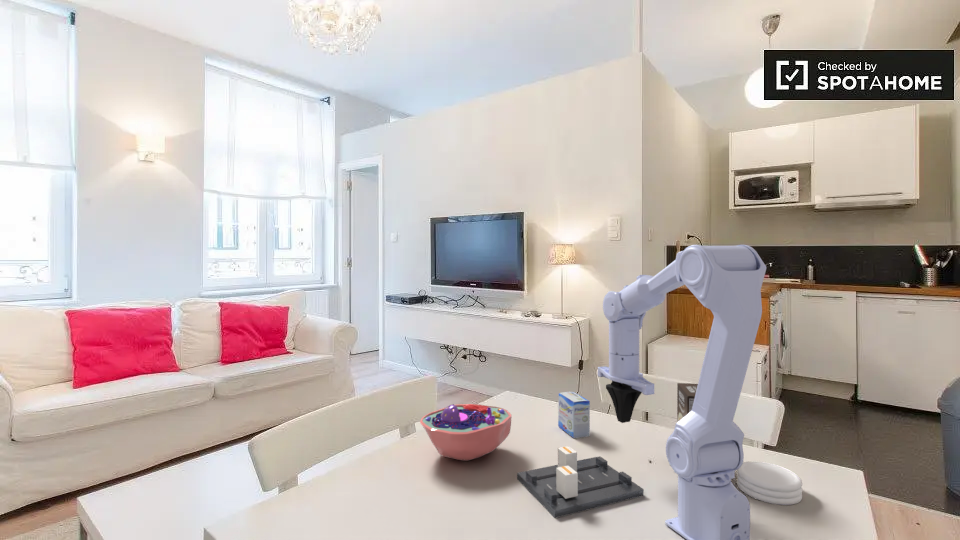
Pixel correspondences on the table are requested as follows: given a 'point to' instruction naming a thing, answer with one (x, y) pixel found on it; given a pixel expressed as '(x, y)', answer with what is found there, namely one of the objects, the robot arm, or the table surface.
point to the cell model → (467, 430)
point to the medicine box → (574, 414)
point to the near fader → (567, 481)
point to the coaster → (769, 483)
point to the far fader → (567, 457)
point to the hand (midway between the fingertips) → (623, 421)
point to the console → (581, 487)
